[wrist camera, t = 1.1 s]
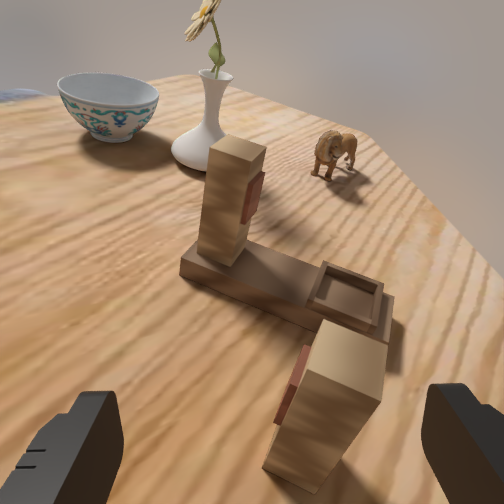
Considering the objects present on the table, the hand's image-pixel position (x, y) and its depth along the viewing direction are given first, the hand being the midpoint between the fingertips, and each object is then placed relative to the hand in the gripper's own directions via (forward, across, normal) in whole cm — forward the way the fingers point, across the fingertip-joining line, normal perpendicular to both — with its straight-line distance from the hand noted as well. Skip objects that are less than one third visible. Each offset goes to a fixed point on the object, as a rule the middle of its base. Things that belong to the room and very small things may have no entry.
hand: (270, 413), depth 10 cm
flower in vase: (+56, +8, +1) cm, 57 cm away
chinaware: (+61, +24, -4) cm, 65 cm away
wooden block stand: (+30, -3, +12) cm, 33 cm away
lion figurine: (+62, -14, +4) cm, 64 cm away
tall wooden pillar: (+14, -2, +17) cm, 22 cm away
